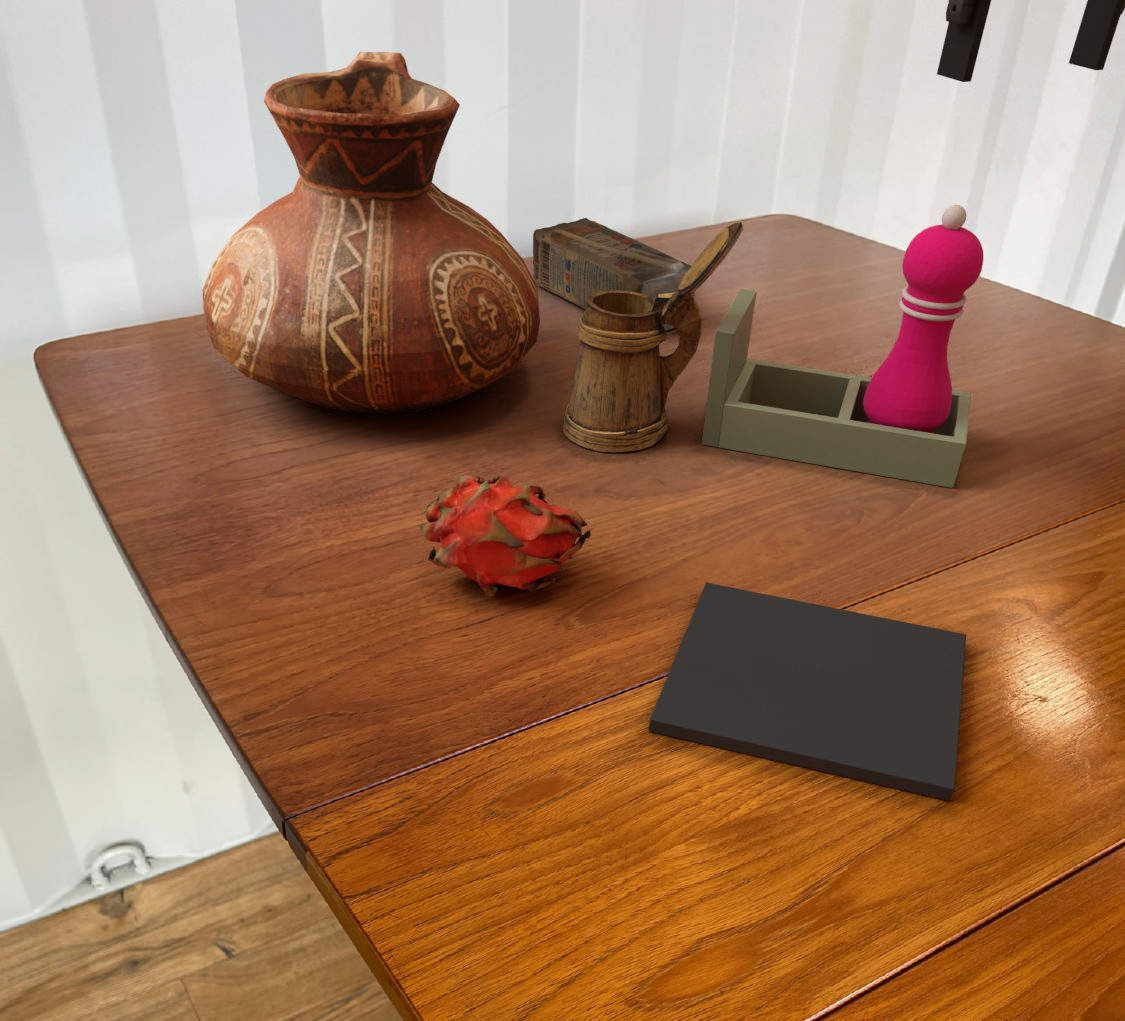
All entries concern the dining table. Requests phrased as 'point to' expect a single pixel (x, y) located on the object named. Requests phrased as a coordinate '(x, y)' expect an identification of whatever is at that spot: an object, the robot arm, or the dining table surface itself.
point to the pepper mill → (926, 327)
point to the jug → (369, 257)
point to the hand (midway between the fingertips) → (1021, 73)
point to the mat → (818, 689)
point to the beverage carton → (600, 263)
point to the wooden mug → (635, 358)
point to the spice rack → (817, 414)
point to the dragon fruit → (501, 533)
